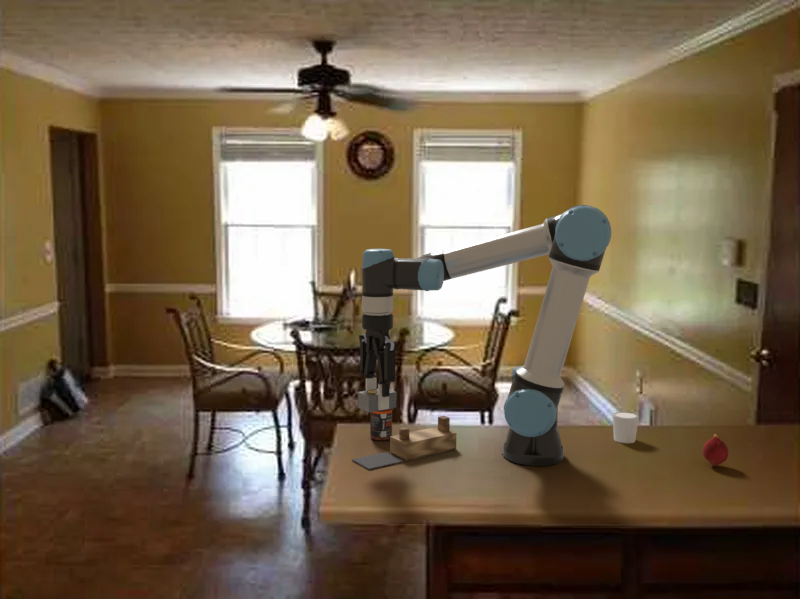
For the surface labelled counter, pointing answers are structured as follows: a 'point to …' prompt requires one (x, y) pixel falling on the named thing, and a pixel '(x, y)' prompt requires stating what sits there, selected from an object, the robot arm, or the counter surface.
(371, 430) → the supplement bottle
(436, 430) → the body
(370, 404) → the lever cap
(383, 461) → the mat
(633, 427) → the white cup
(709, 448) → the onion
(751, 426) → the counter surface
